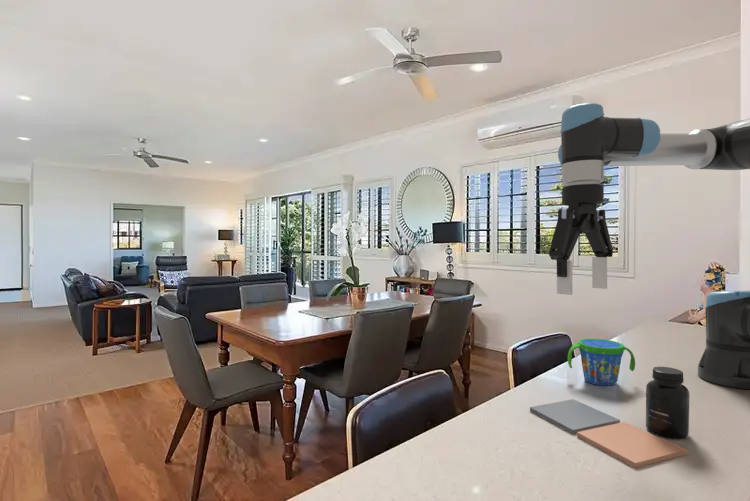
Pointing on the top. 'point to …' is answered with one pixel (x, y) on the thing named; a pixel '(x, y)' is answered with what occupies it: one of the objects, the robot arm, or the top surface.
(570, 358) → the snack cup
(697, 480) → the top surface
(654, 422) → the supplement bottle
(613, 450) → the terracotta pad
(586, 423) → the slate pad
